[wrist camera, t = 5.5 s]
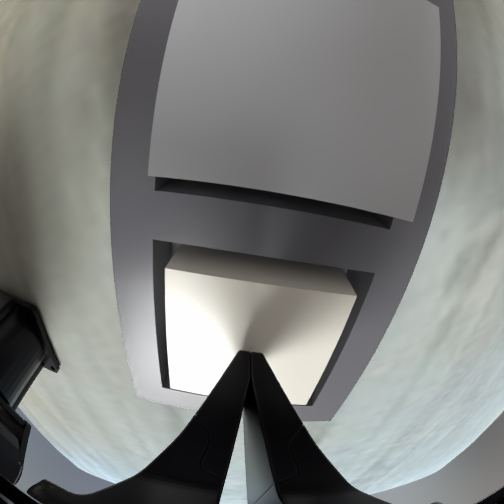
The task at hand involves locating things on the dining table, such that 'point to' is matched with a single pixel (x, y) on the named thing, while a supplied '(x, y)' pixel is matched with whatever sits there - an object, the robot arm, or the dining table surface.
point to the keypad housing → (252, 228)
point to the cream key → (252, 317)
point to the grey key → (301, 99)
